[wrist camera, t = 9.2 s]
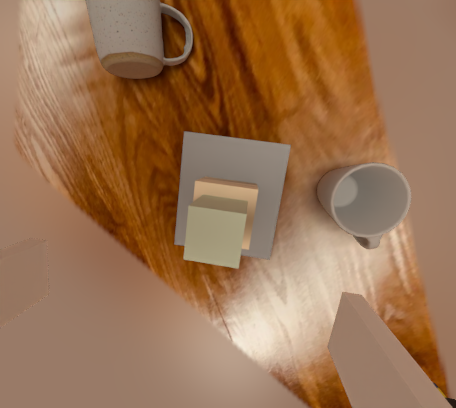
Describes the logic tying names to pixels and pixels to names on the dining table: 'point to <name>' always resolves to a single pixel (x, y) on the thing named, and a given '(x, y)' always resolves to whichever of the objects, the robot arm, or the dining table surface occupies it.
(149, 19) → the ceramic mug
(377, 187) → the cup
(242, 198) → the base block
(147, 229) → the dining table surface
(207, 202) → the sage block
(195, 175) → the board
